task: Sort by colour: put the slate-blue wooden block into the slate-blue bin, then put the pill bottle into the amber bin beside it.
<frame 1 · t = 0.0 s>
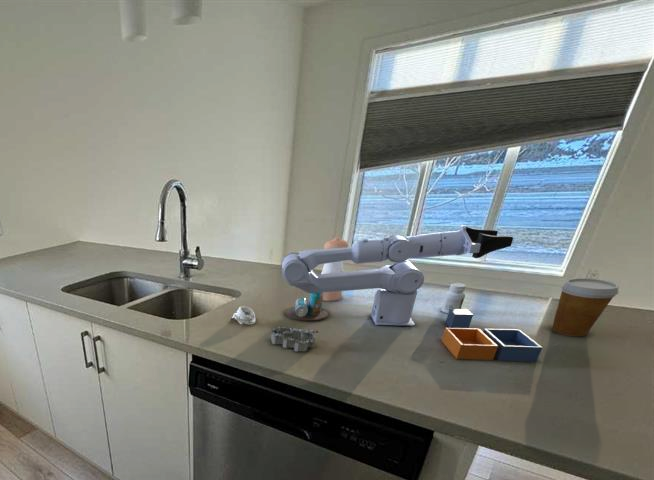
hand: (503, 238, 97), 22 cm above the worktop, tool horizontal, fingers open, 7 cm apart
egg carton: (291, 344, 106), on the worktop
pill bottle: (450, 312, 116), on the worktop
amber bin: (465, 349, 95), on the worktop
disposable coffee cup: (568, 332, 99), on the worktop
pepper shaker: (328, 297, 134), on the worktop
blue block: (456, 326, 107), on the worktop
round serving tray: (306, 314, 123), on the worktop
blue bin: (506, 351, 93), on the worktop
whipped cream: (244, 322, 122), on the worktop
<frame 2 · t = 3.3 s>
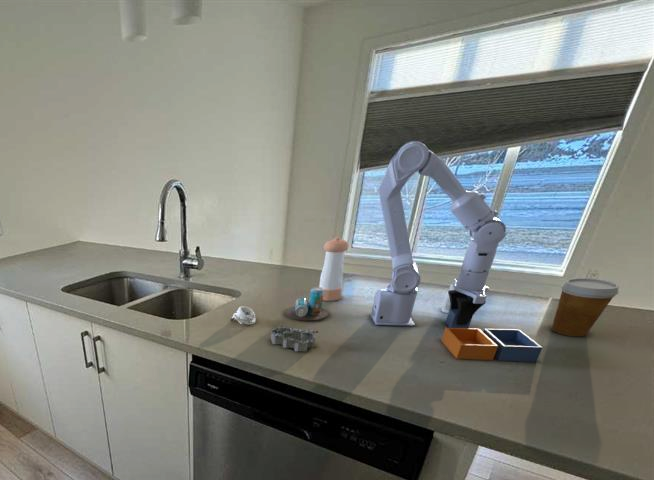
hand: (458, 321, 106), 1 cm above the worktop, tool pointing down, fingers closed on blue block, 4 cm apart
blue block: (456, 325, 107), on the worktop, touching gripper
everything else where it was.
when the fingers open (2 cm above the worktop, at t = 7.5 s): blue block stays where it is, resting on blue bin.
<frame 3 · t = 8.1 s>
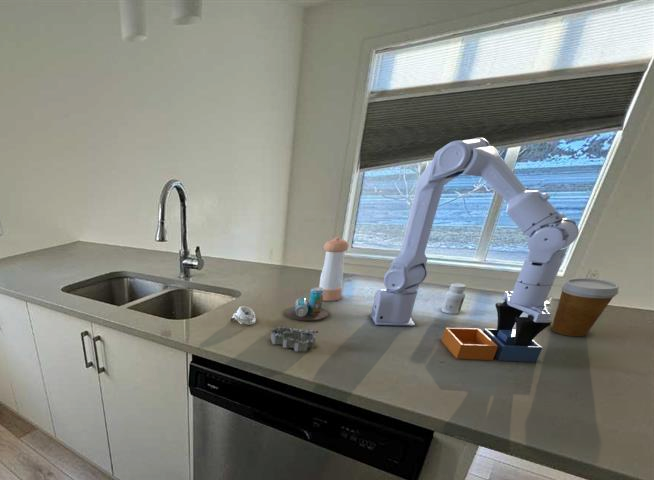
hand: (510, 340, 92), 3 cm above the worktop, tool pointing down, fingers open, 7 cm apart
blue block: (507, 349, 93), resting on blue bin
everything else where it was.
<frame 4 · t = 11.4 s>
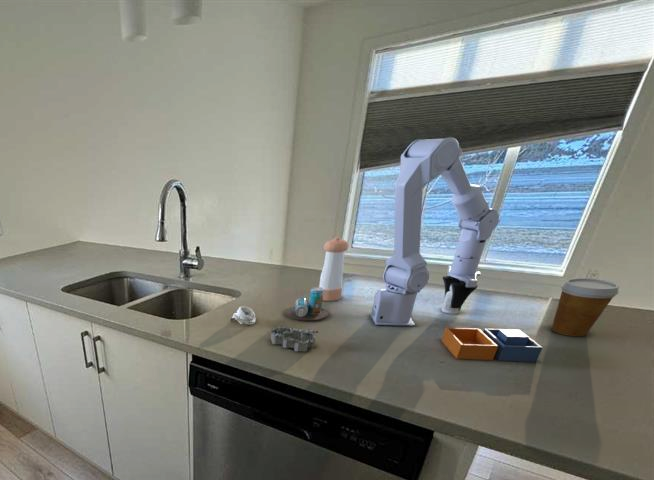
hand: (452, 304, 114), 2 cm above the worktop, tool pointing down, fingers closed on pill bottle, 4 cm apart
pill bottle: (449, 312, 116), on the worktop, touching gripper
everything else where it was.
when the fingers open (2 cm above the worktop, at t = 16.4 s): pill bottle stays where it is, resting on amber bin.
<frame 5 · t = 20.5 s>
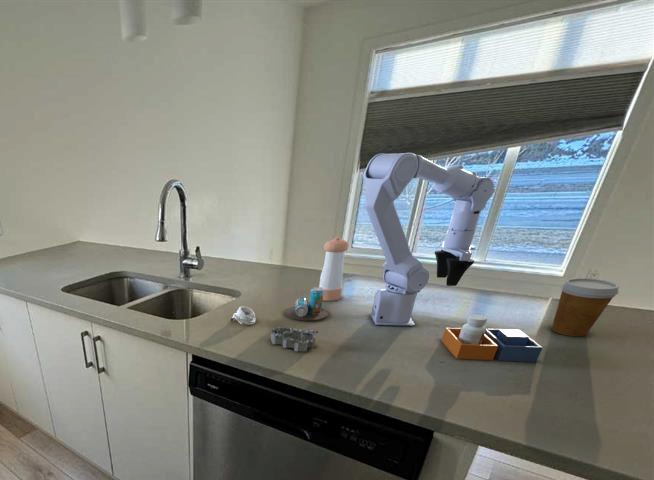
hand: (446, 281, 110), 9 cm above the worktop, tool pointing down, fingers open, 7 cm apart
pill bottle: (466, 348, 95), resting on amber bin
everything else where it was.
at the end: blue block inside the target area in the blue bin (0.1 cm from its centre), point 0.5 cm above the blue bin's base; pill bottle inside the target area in the amber bin (0.1 cm from its centre), point 0.3 cm above the amber bin's base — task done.
